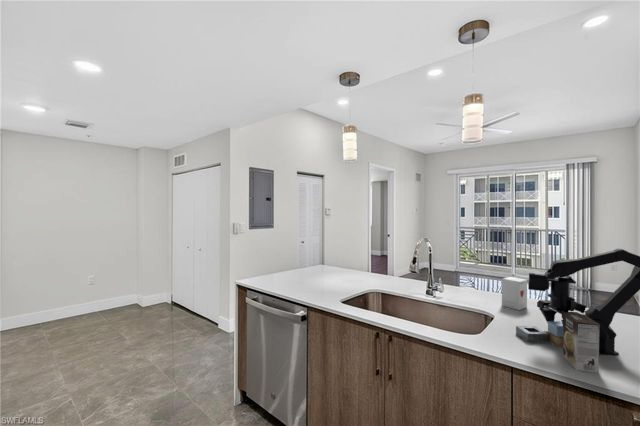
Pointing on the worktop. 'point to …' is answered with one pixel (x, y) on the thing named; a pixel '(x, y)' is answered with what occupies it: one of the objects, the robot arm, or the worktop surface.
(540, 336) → the port
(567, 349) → the coffee box
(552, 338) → the tan shallow tray
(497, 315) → the worktop surface
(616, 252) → the robot arm
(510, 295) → the supplement box
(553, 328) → the plug
